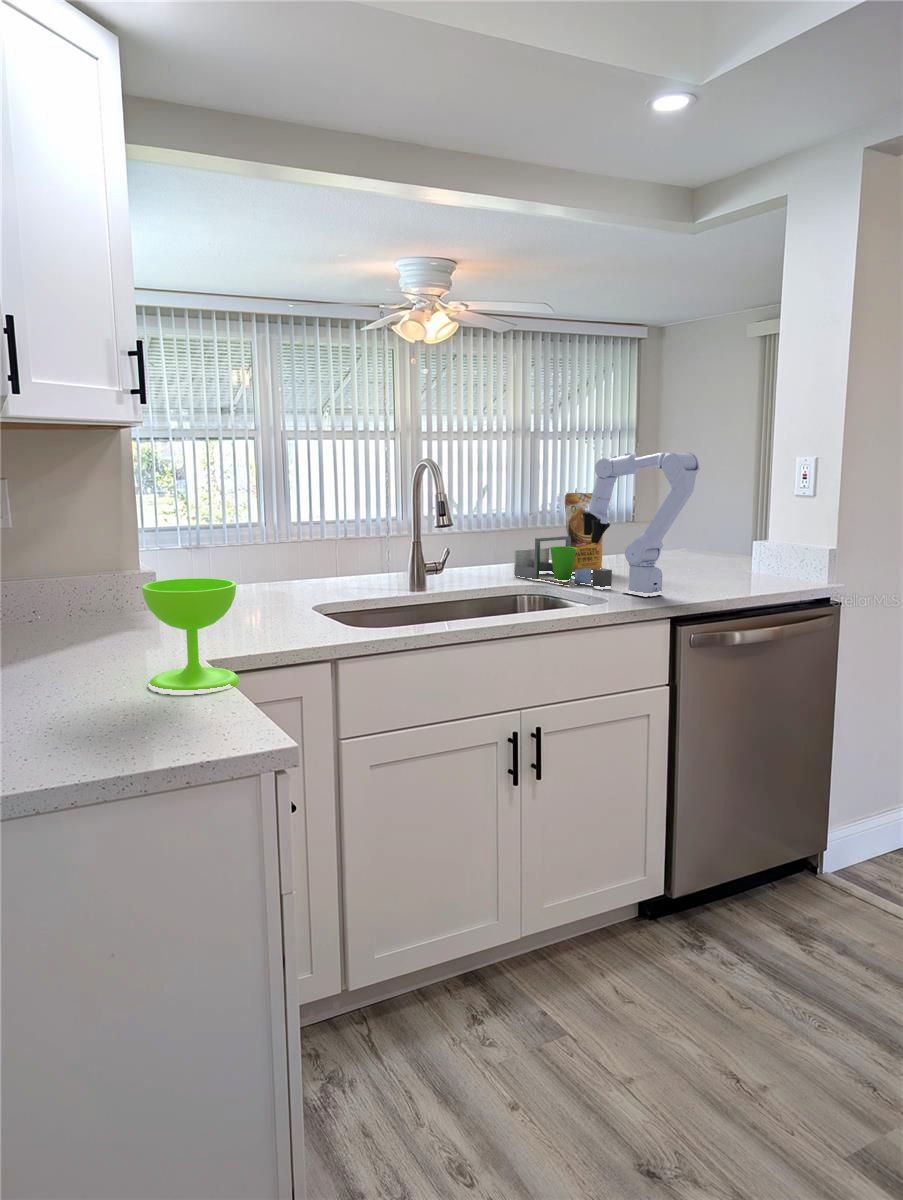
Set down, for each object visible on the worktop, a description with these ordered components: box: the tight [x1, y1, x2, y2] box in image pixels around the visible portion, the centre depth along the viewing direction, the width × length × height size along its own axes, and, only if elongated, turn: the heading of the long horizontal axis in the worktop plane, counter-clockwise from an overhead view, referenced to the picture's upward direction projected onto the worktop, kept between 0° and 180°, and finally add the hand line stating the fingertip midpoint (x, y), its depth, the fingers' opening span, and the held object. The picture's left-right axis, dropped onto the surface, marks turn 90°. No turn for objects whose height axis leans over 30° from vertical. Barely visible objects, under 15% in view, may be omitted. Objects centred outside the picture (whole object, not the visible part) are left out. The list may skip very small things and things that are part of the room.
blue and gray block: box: [573, 567, 613, 587], centre depth 263 cm, size 11×6×6 cm, turn 35°
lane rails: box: [537, 575, 593, 586], centre depth 273 cm, size 15×14×1 cm
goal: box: [513, 535, 571, 579], centre depth 282 cm, size 11×15×14 cm
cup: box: [549, 545, 577, 580], centre depth 274 cm, size 9×9×11 cm
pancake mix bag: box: [563, 492, 604, 572], centre depth 292 cm, size 7×19×28 cm, turn 124°
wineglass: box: [141, 577, 241, 690], centre depth 150 cm, size 16×16×18 cm
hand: (590, 538), depth 263 cm, fingers open, 7 cm apart
